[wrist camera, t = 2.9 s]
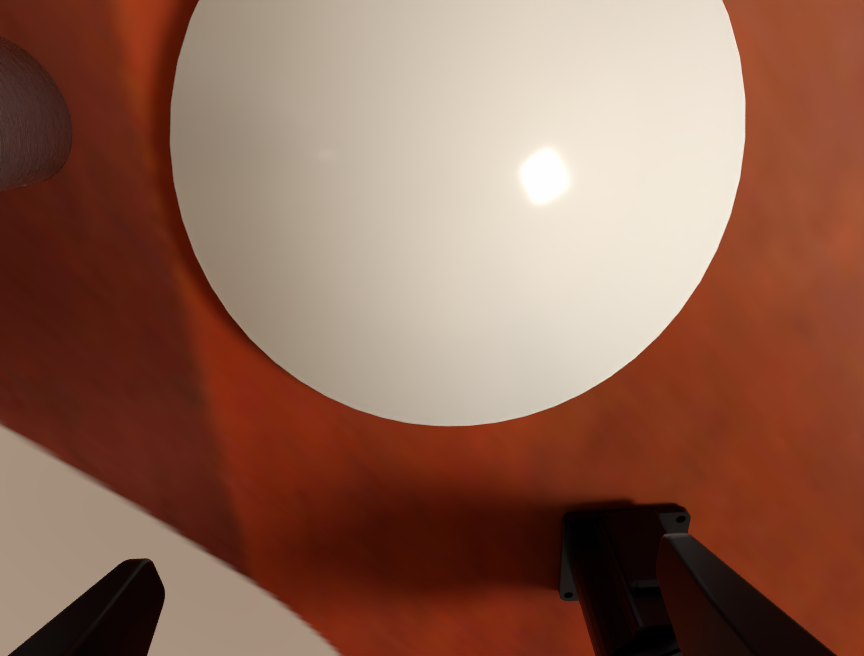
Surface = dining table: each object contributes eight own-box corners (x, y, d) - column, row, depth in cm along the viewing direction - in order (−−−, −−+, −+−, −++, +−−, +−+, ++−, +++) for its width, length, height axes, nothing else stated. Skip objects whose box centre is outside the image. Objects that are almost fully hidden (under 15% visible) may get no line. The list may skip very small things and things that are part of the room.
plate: (681, 396, 23) (694, 411, 22) (255, 423, 23) (247, 439, 22) (786, -189, 14) (815, -212, 13) (101, -125, 15) (75, -142, 13)
